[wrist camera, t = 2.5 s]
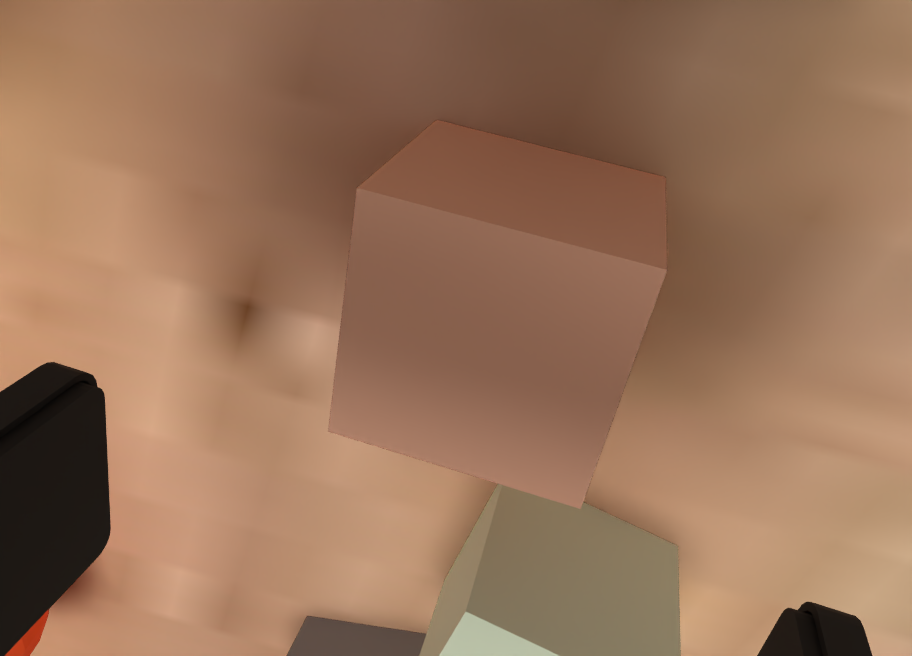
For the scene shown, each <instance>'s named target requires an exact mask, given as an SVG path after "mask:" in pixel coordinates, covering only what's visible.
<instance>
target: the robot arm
mask: <svg viewBox="0 0 912 656" xmlns="http://www.w3.org/2000/svg"><path fill="white" fill-rule="evenodd" d="M110 529H111V527H110V504H109V482H108V459H107V437H106V414H105V396H104V392H103V391H102V389H100V388H98V387H97V383H96V379H95V378H94V376H93V375H91V374H89V373H86V372H83V371H80V370H77V369H74V368H71V367H67V366H64V365H61V364H58V363H55V362H50V363H46V364H43V365H41V366H40V367H38V368H36V369H35V370H33V371H32V372H30V373H29V374H27V375H26V376H24V377H23V378H21V379H20V380H18V381H17V382H15V383H14V384H12V385H10V386H9V387H7V388H6V389H4V390H3V391H1V392H0V656H5V655H6V654H7V653H8V652H9V651H10V650H11V648H12V647H13V646H14V645H15V644H16V643H17V642H18V641H19V640H20V639H21V638H22V637H23V636H24V635H25V634H26V633H27V632H28V630H29V629H30V628H31V627H32V626H33V625H34V624H35V623H36V622H37V621H38V620H39V619H40V618H41V617H42V616H43V615H44V613H45V612H46V611H47V610H48V609H49V608H50V607H51V606H52V605H53V604H54V603H55V602H56V601H57V600H58V599H59V598H60V597H61V595H62V594H63V593H64V592H65V591H66V590H67V589H68V588H69V587H70V586H71V585H72V584H73V583H74V582H75V581H76V580H77V578H78V577H79V576H80V575H81V574H82V573H83V572H84V571H85V570H86V569H87V568H88V567H89V566H90V565H91V564H92V563H93V562H94V560H95V559H96V558H97V557H98V556H99V555H100V554H101V552H102V551H103V549H104V548H105V546H106V544H107V541H108V539H109V535H110ZM757 656H872V653H871V650H870V647H869V643H868V640H867V637H866V634H865V630H864V627H863V625H862V623H861V621H860V620H859V619H858V618H857V617H856V616H853V615H850V614H847V613H844V612H841V611H838V610H835V609H831V608H828V607H825V606H822V605H819V604H816V603H812V602H805V603H804V604H802V605H801V607H800V608H799V609H798V610H795V609H792V608H787V609H785V610H784V611H783V613H782V614H781V616H780V617H779V619H778V621H777V623H776V624H775V626H774V628H773V630H772V631H771V633H770V635H769V636H768V638H767V640H766V642H765V643H764V645H763V647H762V649H761V650H760V652H759V654H758V655H757Z"/></svg>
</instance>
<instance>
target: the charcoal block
mask: <svg viewBox="0 0 912 656" xmlns="http://www.w3.org/2000/svg"><path fill="white" fill-rule="evenodd" d="M425 637H426V634H424V633H417V632H410V631H404V630H397V629H391V628H384V627H378V626H371V625H364V624H358V623H351V622H345V621H338V620H332V619H325V618H318V617H312V616H307V617H306V619H305V621H304V623H303V625H302V627H301V629H300V631H299V633H298V635H297V637H296V638H295V640H294V642H293V644H292V646H291V648H290V650H289V652H288V654H287V656H419V655H420V652H421V649H422V646H423V643H424V640H425Z"/></svg>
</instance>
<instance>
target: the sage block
mask: <svg viewBox="0 0 912 656" xmlns="http://www.w3.org/2000/svg"><path fill="white" fill-rule="evenodd" d="M419 656H681V650H680V609H679V567H678V546H677V545H675V544H673V543H670V542H668V541H666V540H664V539H662V538H660V537H657V536H655V535H653V534H651V533H649V532H647V531H645V530H642V529H640V528H638V527H636V526H634V525H632V524H630V523H627V522H625V521H623V520H621V519H619V518H617V517H615V516H612V515H610V514H608V513H606V512H604V511H602V510H600V509H597V508H595V507H593V506H591V505H589V504H587V503H584V502H583V504H582V507H581V509H579V508H576V507H572V506H569V505H566V504H562V503H559V502H556V501H553V500H549V499H546V498H543V497H540V496H536V495H533V494H530V493H527V492H523V491H520V490H517V489H514V488H510V487H507V486H504V485H501V484H497V486H496V488H495V490H494V491H493V493H492V495H491V497H490V499H489V500H488V502H487V504H486V506H485V508H484V509H483V511H482V513H481V515H480V517H479V518H478V520H477V522H476V524H475V526H474V527H473V529H472V531H471V533H470V535H469V537H468V538H467V540H466V542H465V544H464V546H463V547H462V549H461V551H460V553H459V555H458V556H457V558H456V560H455V562H454V564H453V565H452V567H451V569H450V571H449V573H448V574H447V576H446V578H445V580H444V583H443V586H442V589H441V592H440V595H439V598H438V601H437V604H436V607H435V610H434V613H433V616H432V619H431V622H430V625H429V628H428V631H427V634H426V637H425V640H424V643H423V646H422V649H421V652H420V655H419Z"/></svg>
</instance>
